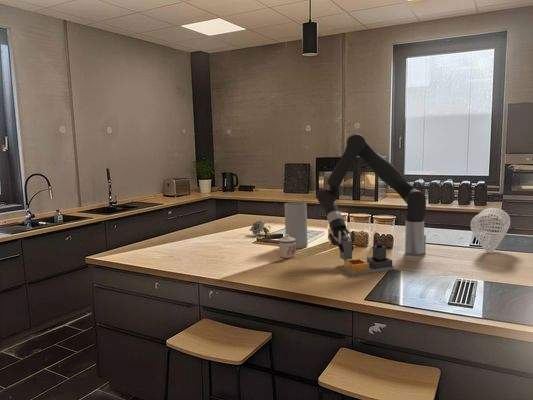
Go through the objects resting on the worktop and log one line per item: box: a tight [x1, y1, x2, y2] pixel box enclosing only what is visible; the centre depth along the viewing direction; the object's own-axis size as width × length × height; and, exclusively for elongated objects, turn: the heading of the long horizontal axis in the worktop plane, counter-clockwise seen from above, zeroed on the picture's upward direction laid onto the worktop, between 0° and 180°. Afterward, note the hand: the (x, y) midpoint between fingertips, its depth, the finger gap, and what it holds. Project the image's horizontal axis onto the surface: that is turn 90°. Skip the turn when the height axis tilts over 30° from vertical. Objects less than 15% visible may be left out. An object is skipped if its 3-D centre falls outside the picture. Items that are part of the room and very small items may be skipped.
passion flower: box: [248, 219, 271, 237], centre depth 276 cm, size 11×11×12 cm
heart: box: [470, 207, 511, 254], centre depth 213 cm, size 28×16×22 cm, turn 142°
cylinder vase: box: [284, 201, 309, 250], centre depth 242 cm, size 12×12×25 cm
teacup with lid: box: [278, 233, 297, 259], centre depth 225 cm, size 12×9×12 cm
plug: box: [339, 236, 353, 261], centre depth 204 cm, size 4×4×11 cm
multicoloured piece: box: [341, 241, 395, 276], centre depth 195 cm, size 22×9×12 cm, turn 105°
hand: (347, 250), depth 202 cm, fingers closed on plug, 4 cm apart
